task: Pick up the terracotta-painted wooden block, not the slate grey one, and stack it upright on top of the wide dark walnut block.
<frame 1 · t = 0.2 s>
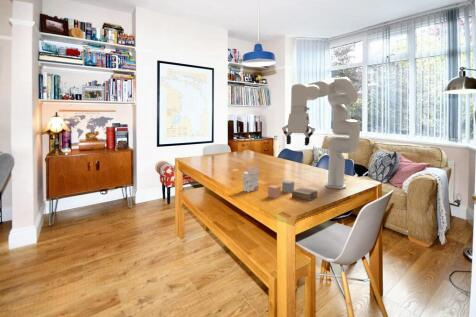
hand: (297, 144, 128), 31 cm above the table, tool pointing down, fingers open, 9 cm apart
ink cartridge box: (250, 190, 156), on the table
terracotta block: (274, 196, 144), on the table
walnut block: (304, 197, 142), on the table
slate grey block: (288, 191, 154), on the table
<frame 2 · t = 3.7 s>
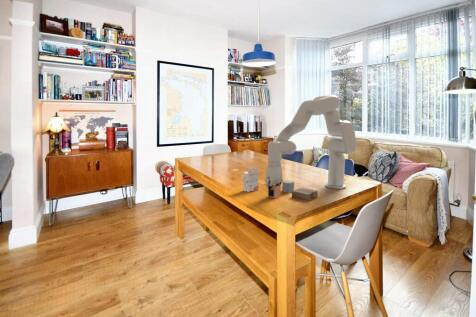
hand: (274, 194, 144), 1 cm above the table, tool pointing down, fingers closed on terracotta block, 5 cm apart
terracotta block: (274, 196, 144), on the table, touching gripper
everything else where it was.
when the fingers open (6 cm above the table, at t = 10.9 s): terracotta block drops 2 cm, point 4 cm above the table.
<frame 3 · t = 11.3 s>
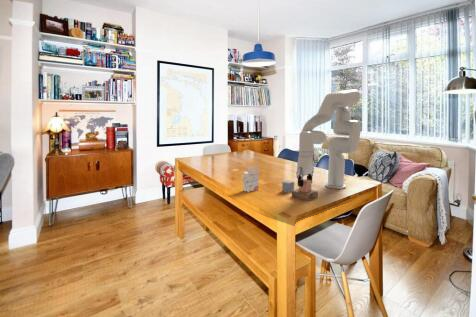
hand: (305, 184, 141), 7 cm above the table, tool pointing down, fingers open, 9 cm apart
terracotta block: (305, 190, 142), point 4 cm above the table
everything else where it was.
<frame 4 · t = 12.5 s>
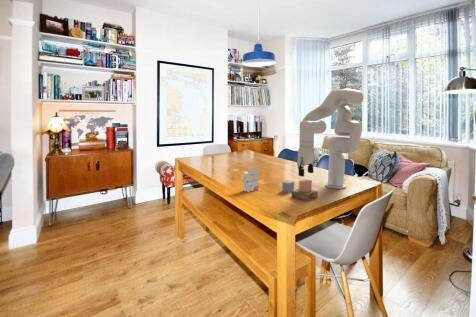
hand: (306, 174, 141), 13 cm above the table, tool pointing down, fingers open, 9 cm apart
terracotta block: (305, 190, 142), point 4 cm above the table, touching walnut block
walnut block: (304, 197, 142), on the table, touching terracotta block
everything else where it was.
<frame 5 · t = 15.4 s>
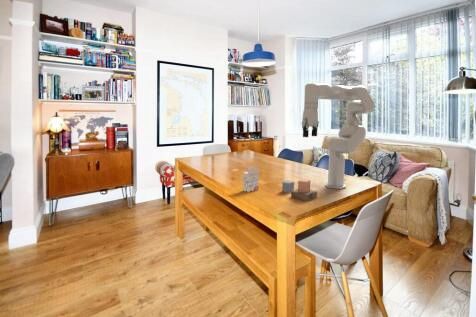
hand: (310, 136, 145), 33 cm above the table, tool pointing down, fingers open, 9 cm apart
nothing on the table moved.
at the end: terracotta block 0.3 cm off-centre on the walnut block, point 4.0 cm above the walnut block's base; terracotta block tilted 0°; the gripper is holding nothing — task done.
